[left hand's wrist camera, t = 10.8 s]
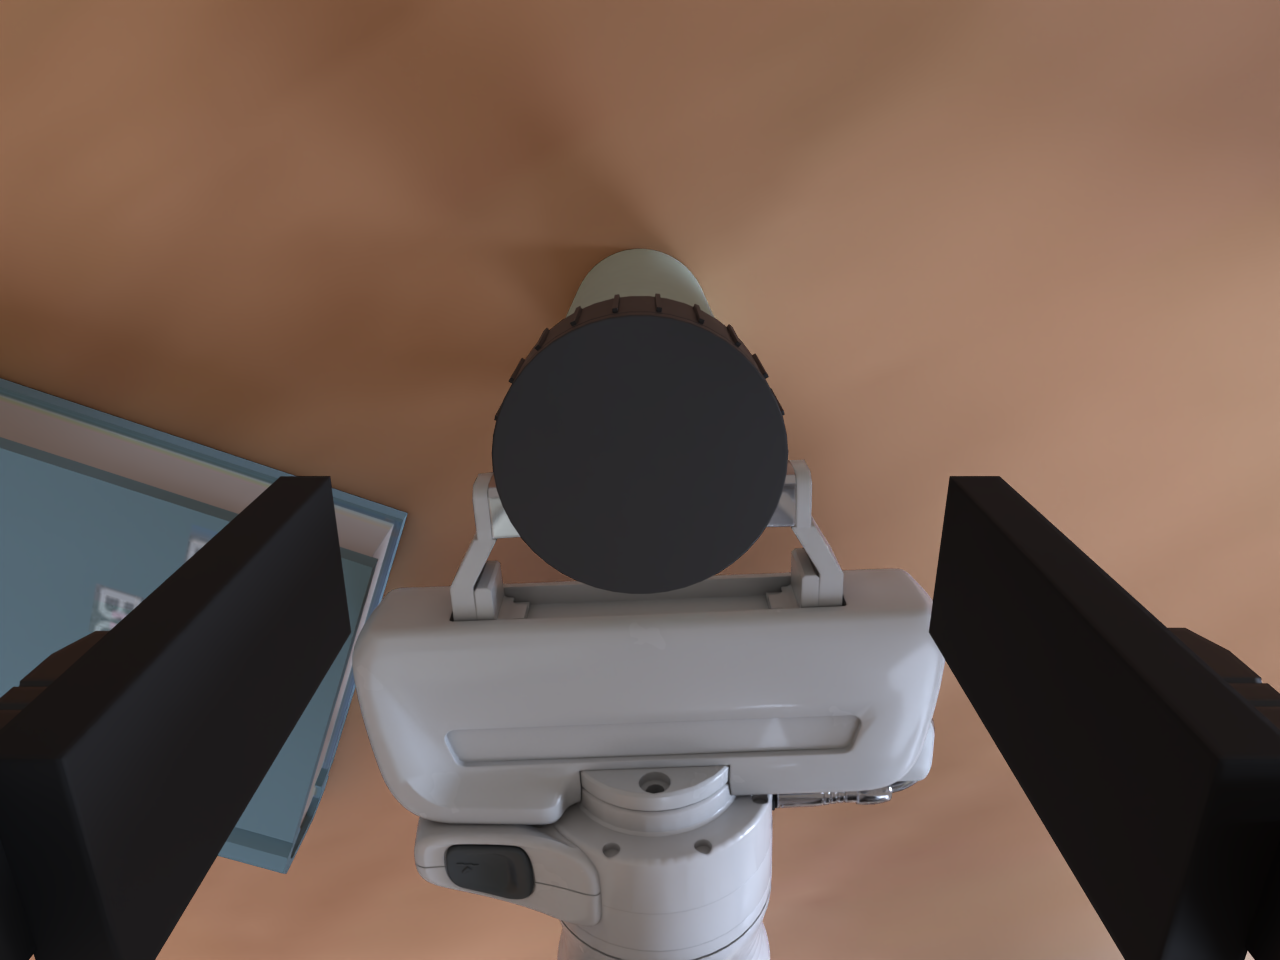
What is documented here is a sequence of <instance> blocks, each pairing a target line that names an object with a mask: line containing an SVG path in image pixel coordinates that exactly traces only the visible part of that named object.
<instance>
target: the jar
mask: <svg viewBox="0 0 1280 960" xmlns="http://www.w3.org/2000/svg"><path fill="white" fill-rule="evenodd" d="M655 293H657V294H660V296H661V298H668V299H671V300H675V301H679V302H682V303H686V304H688V305H690V306H694V304H697V305H699V307H700V309H701V310H702V311H704V312H705V313H707V314H709V315H710V316H712V317H714V316H713V313H712V311H711V309H710V307H709V305H708V302H707V300H706V298H705V296H704V293H703V291H702V289H701V287H700V285H699V283H698V281H697V280H696V278H695V277H694V275H693V274H692V273H691V272H690V271H689V270H688V269H687V268H686V266H684V265H683V264H682V263H681V262H679V261H678V260H676V259H675V258H673V257H671V256H669V255H667V254H665V253H662V252H659V251H655V250H649V249H631V250H625V251H621V252H618V253H615V254H613V255H611V256H609V257H607V258H605V259H604V260H602V261H601V262H599V263H598V264H597V265H596V266H594V268H593V269H592V270H591V271H590V272H589V273H588V274H587V276H586V277H585V278H584V280H583V281H582V283H581V285H580V287H579V289H578V291H577V293H576V296H575V298H574V300H573V302H572V305H571V307H570V309H569V311H568V314H567V316H566V317H568V316H570V315H571V314H573V313H574V312H575V309H576V308H577V307H579V306H581V308H582V309H583V308H585V307H587V306H590V305H592V304H594V303H598V302H601V301H605V300H609V299H612V298H614V295H616V294H619V295H620V297H627V296H653V297H655Z"/></svg>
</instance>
